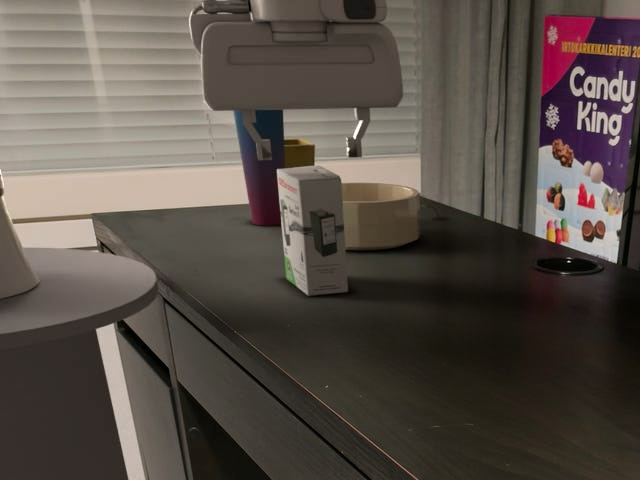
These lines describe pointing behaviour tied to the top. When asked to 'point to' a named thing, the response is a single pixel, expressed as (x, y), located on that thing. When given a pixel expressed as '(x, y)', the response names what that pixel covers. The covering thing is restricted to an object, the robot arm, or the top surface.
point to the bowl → (379, 215)
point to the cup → (262, 165)
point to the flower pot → (299, 153)
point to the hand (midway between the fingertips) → (310, 158)
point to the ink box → (313, 229)
